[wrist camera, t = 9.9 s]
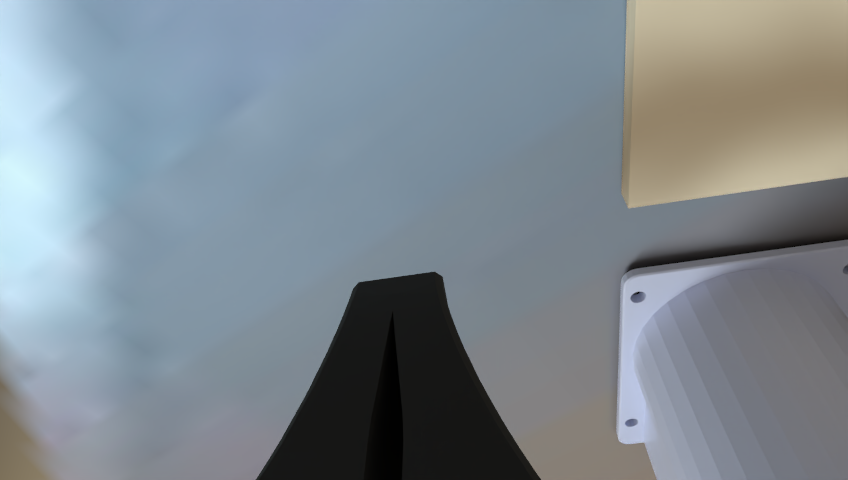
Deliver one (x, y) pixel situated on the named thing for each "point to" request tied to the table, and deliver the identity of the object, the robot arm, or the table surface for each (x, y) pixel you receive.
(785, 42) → the board
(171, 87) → the table surface
